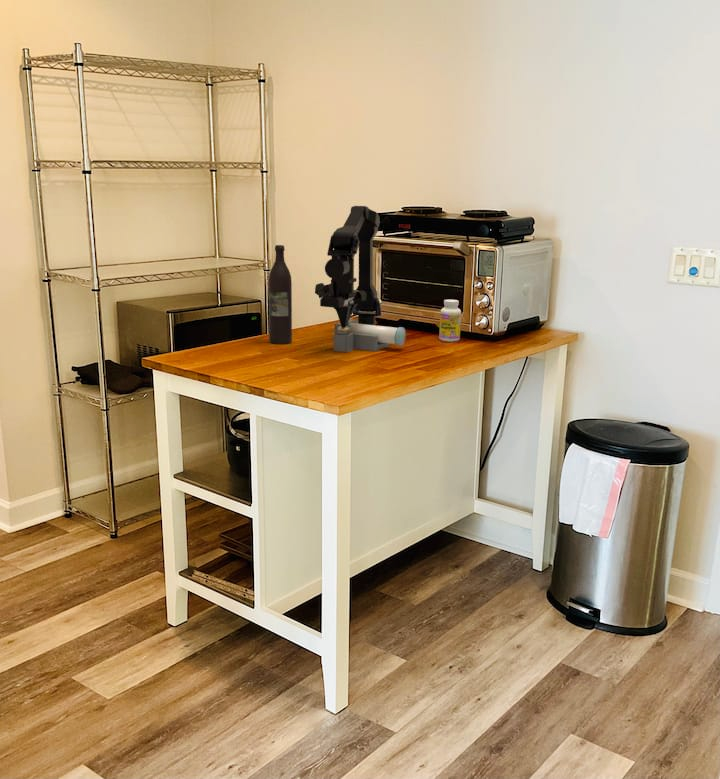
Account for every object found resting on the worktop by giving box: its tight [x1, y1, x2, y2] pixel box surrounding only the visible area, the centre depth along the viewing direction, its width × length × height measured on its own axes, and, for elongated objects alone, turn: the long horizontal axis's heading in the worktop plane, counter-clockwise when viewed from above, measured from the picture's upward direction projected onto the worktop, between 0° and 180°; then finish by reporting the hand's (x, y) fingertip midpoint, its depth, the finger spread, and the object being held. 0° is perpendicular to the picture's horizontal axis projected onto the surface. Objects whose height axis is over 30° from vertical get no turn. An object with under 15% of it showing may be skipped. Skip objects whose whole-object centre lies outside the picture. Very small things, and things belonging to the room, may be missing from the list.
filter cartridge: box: [348, 322, 406, 347], centre depth 247 cm, size 6×18×6 cm, turn 63°
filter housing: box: [333, 318, 390, 353], centre depth 247 cm, size 16×14×7 cm
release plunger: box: [338, 326, 349, 335], centre depth 243 cm, size 3×3×6 cm
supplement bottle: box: [438, 299, 462, 343], centre depth 260 cm, size 7×7×13 cm
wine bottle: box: [268, 244, 293, 345], centre depth 250 cm, size 7×7×30 cm
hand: (343, 327), depth 242 cm, fingers closed, pressing on release plunger
